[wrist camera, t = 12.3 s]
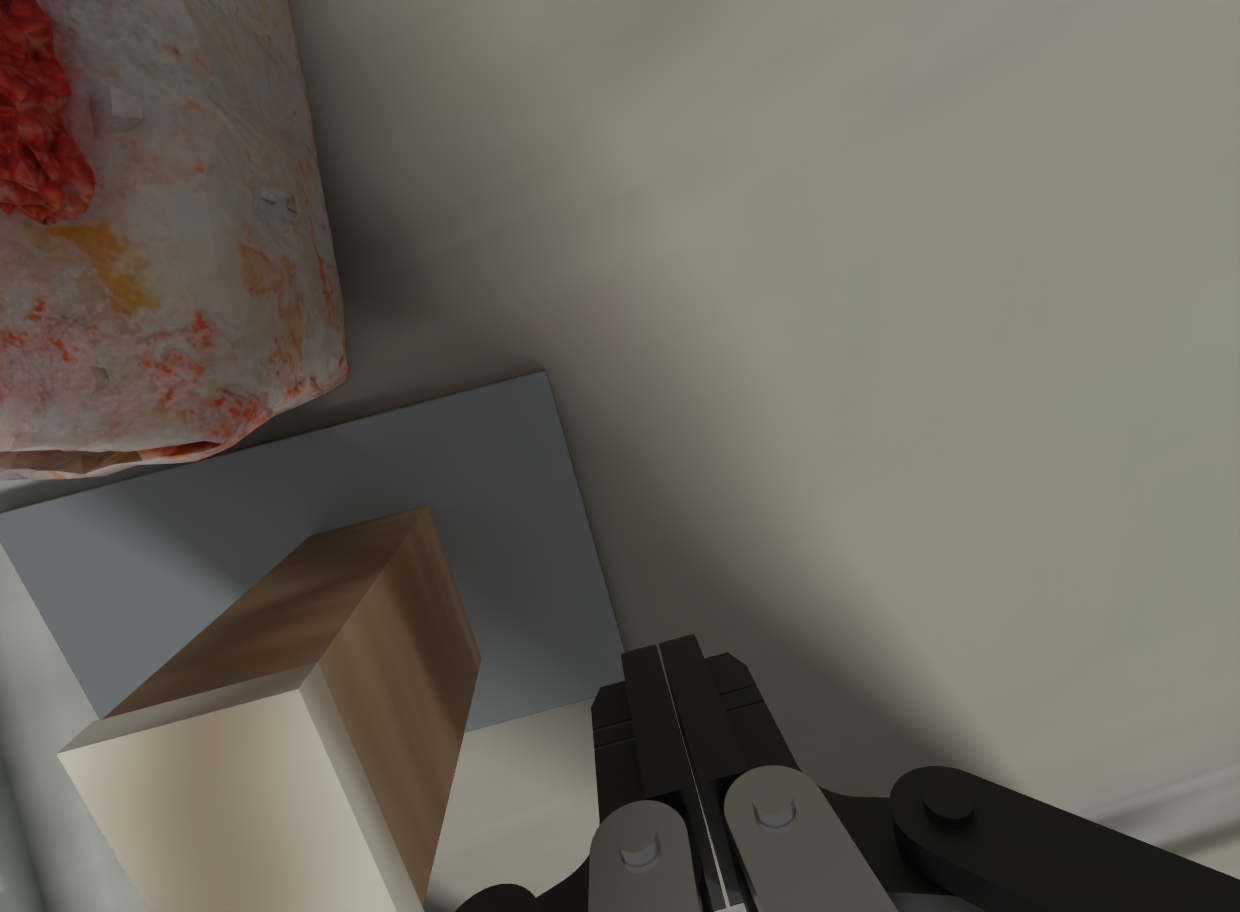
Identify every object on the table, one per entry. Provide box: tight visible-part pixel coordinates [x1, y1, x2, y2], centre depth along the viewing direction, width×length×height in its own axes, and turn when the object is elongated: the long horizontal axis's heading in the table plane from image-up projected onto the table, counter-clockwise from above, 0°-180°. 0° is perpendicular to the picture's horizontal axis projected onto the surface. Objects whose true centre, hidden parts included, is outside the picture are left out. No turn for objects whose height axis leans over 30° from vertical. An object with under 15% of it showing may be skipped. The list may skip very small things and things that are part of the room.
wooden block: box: [57, 505, 482, 912], centre depth 16 cm, size 4×6×10 cm
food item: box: [0, 0, 350, 481], centre depth 13 cm, size 14×8×10 cm, turn 4°
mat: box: [0, 370, 625, 733], centre depth 21 cm, size 12×18×1 cm, turn 104°
